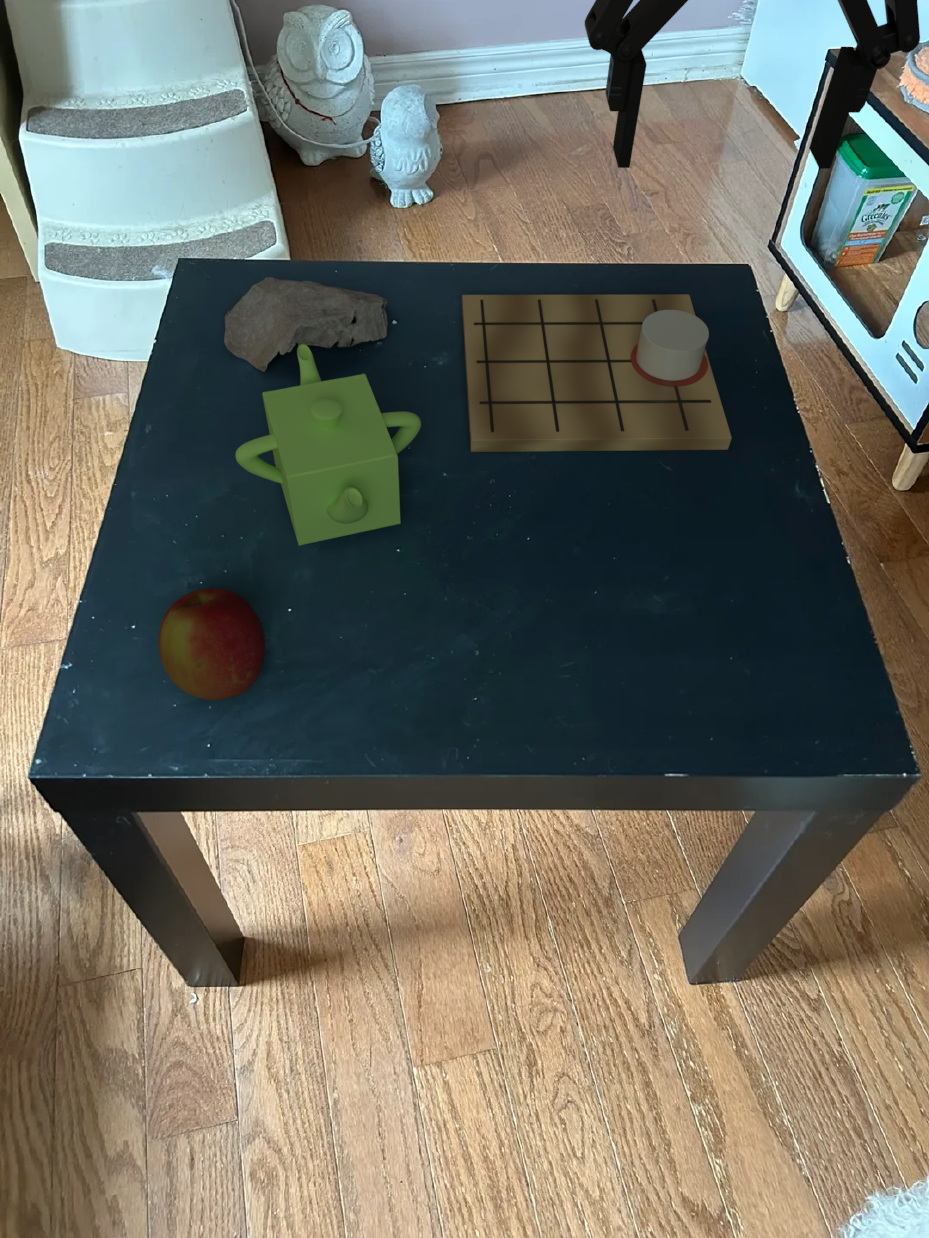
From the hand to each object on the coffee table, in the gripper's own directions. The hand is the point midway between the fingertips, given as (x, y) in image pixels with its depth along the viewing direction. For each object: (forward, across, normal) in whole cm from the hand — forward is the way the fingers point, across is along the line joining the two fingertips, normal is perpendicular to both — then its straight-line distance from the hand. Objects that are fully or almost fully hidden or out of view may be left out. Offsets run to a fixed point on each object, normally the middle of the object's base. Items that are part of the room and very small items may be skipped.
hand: (720, 158), depth 65 cm
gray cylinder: (+27, -4, -13) cm, 30 cm away
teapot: (+29, +28, +4) cm, 40 cm away
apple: (+29, +36, +22) cm, 51 cm away
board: (+29, +4, -13) cm, 32 cm away
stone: (+29, +32, -18) cm, 47 cm away
